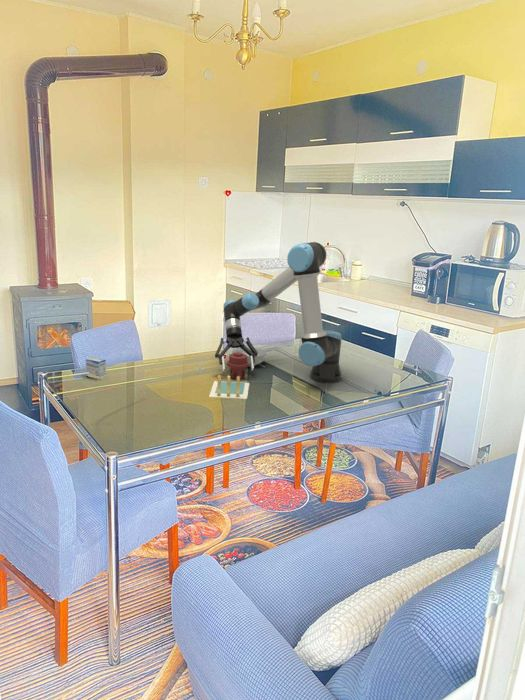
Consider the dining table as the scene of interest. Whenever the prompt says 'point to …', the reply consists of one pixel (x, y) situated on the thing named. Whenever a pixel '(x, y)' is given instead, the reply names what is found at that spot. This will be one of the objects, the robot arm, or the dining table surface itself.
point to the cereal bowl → (258, 358)
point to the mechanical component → (237, 365)
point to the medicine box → (96, 366)
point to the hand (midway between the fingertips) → (238, 369)
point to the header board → (243, 390)
